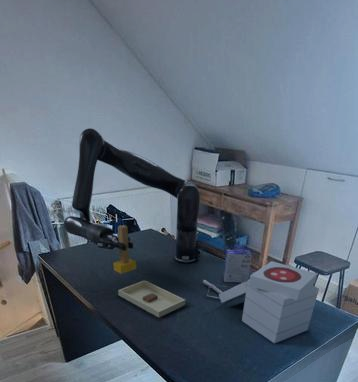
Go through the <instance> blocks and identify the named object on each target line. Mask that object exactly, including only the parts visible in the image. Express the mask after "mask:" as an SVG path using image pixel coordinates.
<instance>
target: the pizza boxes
mask: <svg viewBox="0 0 358 382" xmlns="http://www.w3.org/2000/svg"><path fill="white" fill-rule="evenodd" d="M317 277H318V272H313V271H310V270H306V269H302V268H300V267H299V268H298V267H294V266H291V265H287V264H283V263H280V262H276V261H273V260H271V261H269V262H268V263H267V264H265V265H264V266H262V267H261V268H259V269H258V270H256V271H255V272H253V273H251V274H249V278H248V281H246V282H243V283H239V284H237V285H235V286H233V287H231V288H229V289H227V290H225V291H222V292H223V293H221V294H219V293H218V298H219V300H220V303H221V304H224V303H227V302H230V301H233V300H237V299H239V298H244V304H243V309H242V316H241V322H242V323H244V324H246V325H247V326H249V327H250V328H251V329H253V330H254V331H256V332H257V333H258V334H260V335H262V336H263V337H265V338H266V339H267V340H269V341H270V342H271V343H273V344H276V343H279V342H282V341H284V340H287V339H289V338H291V337H293V336H294V337H295V336H296V335H299V334H302V333H304V332H306V331H309V326H310V322H311V320H312V316H313V311H314V309H315V305H316V301H317V298H318V294H319V291H320V288H319V287H317V286H315V284H316V281H317Z"/></svg>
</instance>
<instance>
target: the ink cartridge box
mask: <svg viewBox="0 0 358 382" xmlns="http://www.w3.org/2000/svg"><path fill="white" fill-rule="evenodd" d="M238 247H240V248H238ZM225 251H226V252H225V259H224V260H225V263H224V271H223V283H239V284H241V283H243V282H246V281H248V280H249V279H250V271H251V263H252V259H253V257H252V256H253V253H252V251H251V250H250V249H245V245H244V244H234V248H233V249H226V250H225Z"/></svg>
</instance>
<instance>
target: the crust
mask: <svg viewBox="0 0 358 382" xmlns="http://www.w3.org/2000/svg"><path fill="white" fill-rule="evenodd" d="M156 299H158V296H157V295H155V294H153V293H151V294H149V295H146V296H144V297H143V300H144V301H146V302H148V303H149V302H151V301H154V300H156Z"/></svg>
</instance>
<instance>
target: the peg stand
mask: <svg viewBox="0 0 358 382" xmlns="http://www.w3.org/2000/svg"><path fill="white" fill-rule="evenodd" d="M117 234H118V238H119V242H121V243H123V244H126V250H125V251H123V250H121V249H118V251H119V260H117V261H113V263H112V264H113V271H115V272H117V273H119V274H120V275H122V274H125V273H128V272H131V271H134V270H137V261H136V260H134V259H133V258H130V248H129V247H128V236H129V232H128V226H127V225H124V224H123V225H118V226H117Z"/></svg>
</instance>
